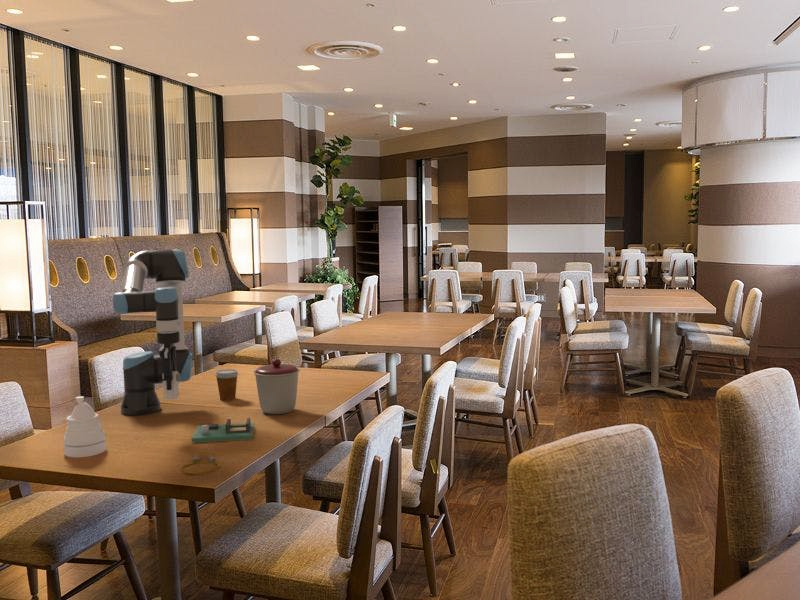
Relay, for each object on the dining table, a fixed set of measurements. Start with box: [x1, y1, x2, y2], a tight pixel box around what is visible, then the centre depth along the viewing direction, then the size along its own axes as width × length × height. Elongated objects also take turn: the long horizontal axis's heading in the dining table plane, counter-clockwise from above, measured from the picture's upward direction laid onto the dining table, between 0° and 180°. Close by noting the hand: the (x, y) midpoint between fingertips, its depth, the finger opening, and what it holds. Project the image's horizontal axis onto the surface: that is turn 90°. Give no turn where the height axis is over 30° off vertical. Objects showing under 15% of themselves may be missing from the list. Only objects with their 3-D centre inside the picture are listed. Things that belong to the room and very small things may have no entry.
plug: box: [162, 371, 180, 400], centre depth 260 cm, size 5×4×9 cm
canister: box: [253, 358, 301, 415], centre depth 291 cm, size 18×18×21 cm
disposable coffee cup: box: [214, 368, 239, 402], centre depth 314 cm, size 10×10×12 cm
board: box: [191, 417, 255, 443], centre depth 261 cm, size 20×16×4 cm
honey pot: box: [63, 395, 107, 458], centre depth 244 cm, size 13×13×18 cm
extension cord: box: [180, 453, 220, 476], centre depth 228 cm, size 12×16×2 cm
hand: (171, 396), depth 261 cm, fingers closed on plug, 4 cm apart
